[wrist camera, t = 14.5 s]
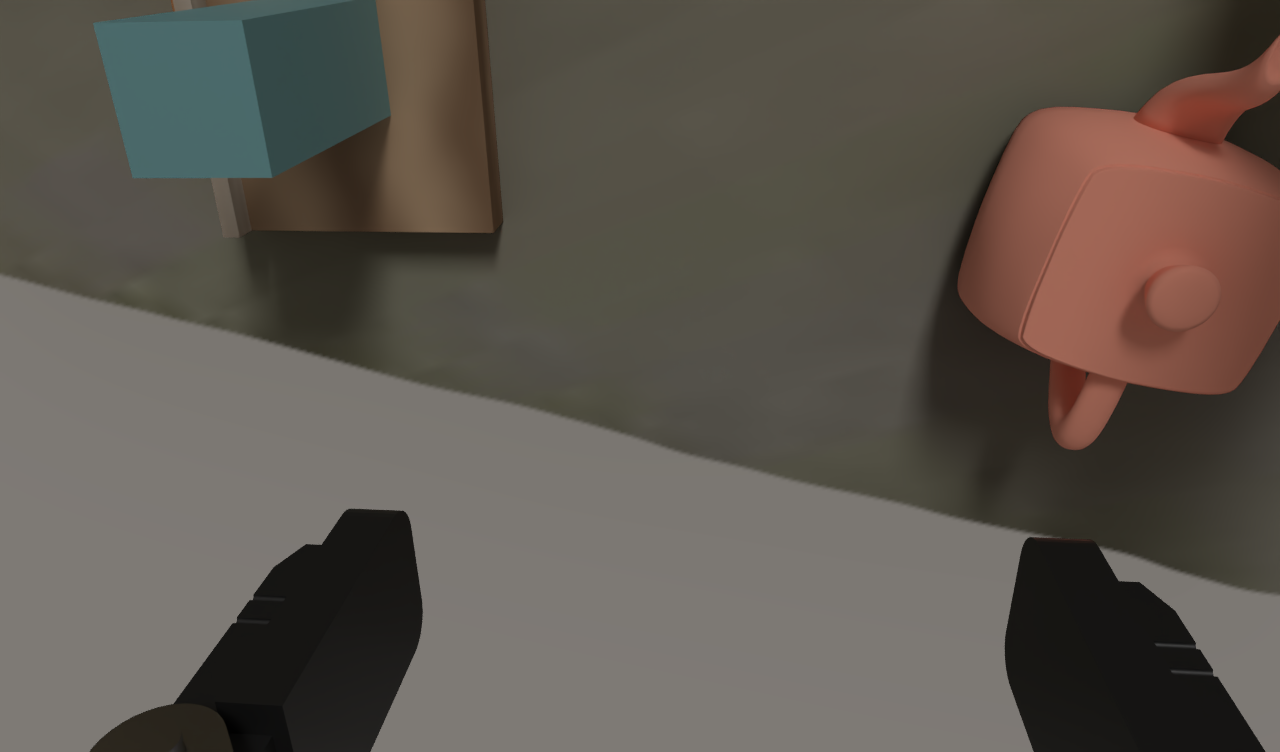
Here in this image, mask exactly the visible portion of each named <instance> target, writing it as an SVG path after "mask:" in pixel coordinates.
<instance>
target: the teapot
mask: <svg viewBox="0 0 1280 752" xmlns="http://www.w3.org/2000/svg"><path fill="white" fill-rule="evenodd" d="M1278 92H1280V35H1279V36H1278V37H1277V38H1276V39H1275V40H1274V42H1273V43H1272V44H1271V45H1270V46H1269V47H1268V48H1267V49H1266V51H1265V52H1264V53H1263V54H1262V55H1261V56H1260V57H1259V58H1257V59H1256V60H1255V61H1253V62H1252V63H1251V64H1249V65H1247V66H1245V67H1243V68H1241V69H1238V70H1234V71H1230V72H1222V73H1211V74H1202V75H1196V76H1191V77H1187V78H1184V79H1181V80H1178V81H1175V82H1173V83H1172V84H1170V85H1168V86H1166V87H1165V88H1163V89H1161V90H1160V91H1158V92H1157V93H1156V94H1155V95H1154V96H1153V97H1152V98H1151V99H1150V100H1149V101H1147V102H1146V104H1145V105H1144V106H1143V107H1142V108H1141V109H1140V110H1139V112H1138V113H1132V112H1126V111H1118V110H1108V109H1097V108H1083V107H1051V108H1044V109H1039V110H1037V111H1034V112H1032V113H1030V114H1029V115H1027V116H1026V117H1024V118H1023V119H1022V120H1021V122H1020V123H1019V125H1018V126H1017V127H1016V129H1015V130H1014V132H1013V134H1012V136H1011V138H1010V140H1009V142H1008V144H1007V146H1006V148H1005V150H1004V152H1003V155H1002V157H1001V159H1000V162H999V164H998V166H997V168H996V171H995V173H994V175H993V177H992V180H991V182H990V184H989V187H988V189H987V192H986V194H985V196H984V199H983V201H982V204H981V207H980V209H979V212H978V215H977V218H976V220H975V223H974V226H973V229H972V232H971V235H970V238H969V241H968V244H967V247H966V250H965V253H964V257H963V260H962V264H961V267H960V271H959V275H958V284H957V288H958V293H959V296H960V298H961V299H962V301H963V302H964V304H965V305H966V307H967V308H968V309H969V310H970V311H971V313H972V314H973V315H974V316H975V317H976V318H977V319H978V320H980V321H981V322H982V323H983V324H985V325H986V326H987V327H989V328H990V329H992V330H993V331H995V332H996V333H998V334H999V335H1001V336H1003V337H1004V338H1006V339H1008V340H1009V341H1011V342H1013V343H1015V344H1017V345H1019V346H1021V347H1023V348H1025V349H1027V350H1029V351H1031V352H1033V353H1036V354H1038V355H1040V356H1042V357H1045V358H1047V359H1050V360H1051V361H1050V377H1049V398H1048V411H1049V422H1050V427H1051V432H1052V435H1053V437H1054V439H1055V441H1056V442H1057V443H1058V444H1059V445H1060V446H1062V447H1063V448H1066V449H1070V450H1080V449H1083V448H1085V447H1087V446H1088V445H1090V444H1091V443H1092V442H1093V441H1094V440H1095V439H1096V438H1097V437H1098V436H1099V434H1100V433H1101V431H1102V430H1103V428H1104V427H1105V425H1106V423H1107V422H1108V420H1109V418H1110V416H1111V415H1112V413H1113V411H1114V409H1115V407H1116V405H1117V403H1118V401H1119V399H1120V397H1121V395H1122V393H1123V391H1124V389H1125V387H1126V385H1127V383H1131V384H1136V385H1141V386H1147V387H1152V388H1158V389H1164V390H1170V391H1177V392H1184V393H1192V394H1206V395H1213V394H1224V393H1228V392H1231V391H1233V390H1235V389H1236V387H1237V386H1238V385H1239V384H1240V383H1241V382H1242V381H1243V379H1244V378H1245V376H1246V375H1247V373H1248V372H1249V371H1250V369H1251V368H1252V366H1253V364H1254V363H1255V361H1256V360H1257V358H1258V356H1259V355H1260V353H1261V352H1262V350H1263V348H1264V347H1265V345H1266V343H1267V341H1268V340H1269V338H1270V336H1271V334H1272V333H1273V331H1274V329H1275V328H1276V326H1277V324H1278V322H1279V321H1280V170H1278V169H1277V168H1276V167H1274V166H1273V165H1272V164H1270V163H1269V162H1267V161H1265V160H1264V159H1262V158H1260V157H1258V156H1256V155H1254V154H1252V153H1250V152H1248V151H1246V150H1244V149H1242V148H1240V147H1238V146H1236V145H1234V144H1232V143H1230V142H1228V141H1225V140H1224V139H1225V137H1226V135H1227V133H1228V131H1229V130H1230V128H1231V127H1232V126H1233V124H1234V123H1235V121H1236V120H1237V119H1238V118H1239V117H1240V115H1241V114H1242V113H1243V112H1245V111H1246V110H1248V109H1251V108H1255V107H1257V106H1259V105H1262V104H1263V103H1265V102H1267V101H1268V100H1270V99H1271V98H1273V97H1274V96H1275V95H1276V94H1277V93H1278ZM1086 372H1089V374H1088V376H1087V379H1086Z"/></svg>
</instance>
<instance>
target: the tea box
mask: <svg viewBox="0 0 1280 752" xmlns="http://www.w3.org/2000/svg"><path fill="white" fill-rule="evenodd" d="M93 24H94V28H95V32H96V36H97V40H98V44H99V48H100V52H101V56H102V60H103V63H104V67H105V71H106V75H107V79H108V83H109V87H110V91H111V95H112V99H113V102H114V106H115V110H116V114H117V118H118V122H119V126H120V130H121V134H122V138H123V141H124V145H125V149H126V153H127V157H128V161H129V165H130V169H131V173H132V177H133V178H273V177H275V176H277V175H279V174H280V173H282V172H284V171H286V170H288V169H290V168H292V167H294V166H296V165H298V164H299V163H301V162H303V161H305V160H307V159H309V158H311V157H313V156H315V155H317V154H319V153H320V152H322V151H324V150H326V149H328V148H330V147H332V146H334V145H336V144H338V143H339V142H341V141H343V140H345V139H347V138H349V137H351V136H353V135H355V134H357V133H358V132H360V131H362V130H364V129H366V128H368V127H370V126H372V125H374V124H376V123H377V122H379V121H381V120H383V119H385V118H387V117H389V116H391V111H390V104H389V97H388V89H387V82H386V74H385V67H384V59H383V52H382V44H381V37H380V30H379V22H378V15H377V7H376V0H253V1H246V2H239V3H232V4H224V5H217V6H210V7H203V8H196V9H189V10H182V11H175V12H168V13H161V14H153V15H146V16H139V17H132V18H125V19H118V20H111V21H104V22H97V23H93Z"/></svg>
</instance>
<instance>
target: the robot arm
mask: <svg viewBox="0 0 1280 752" xmlns="http://www.w3.org/2000/svg"><path fill="white" fill-rule="evenodd" d="M422 614H423V609H422V598H421V592H420V585H419V577H418V571H417V564H416V557H415V551H414V544H413V537H412V530H411V524H410V521H409V517H408V515H407V514H406V512H404V511H394V510H369V509H348V510H346V511H345V512H344V513H343V514H342V516H341V517H340V519H339V520H338V522H337V523H336V525H335V526H334V528H333V529H332V530H331V532H330V533H329V535H328V536H327V538H326V539H325V541H324V542H323V544H322V545H310V544H306V545H305V546H303V547H302V548H300V549H299V550H297V551H296V552H295V553H293V554H292V555H290V556H289V557H288V558H286V559H285V560H283V561H282V562H281V563H279V564H278V565H276V566H275V567H274V568H273V569H272V570H271V572H270V573H269V574H268V576H267V577H266V579H265V580H264V581H263V583H262V584H261V585H260V587H259V588H258V590H257V591H256V592H255V594H254V598H253V600H250V601H249V602H248V603H247V604H246V606H245V607H244V609H243V610H242V612H241V613H240V614H239V615H238V617H237V622H236V623H233V624H232V625H231V626H230V628H229V629H228V630H227V632H226V633H225V634H224V636H223V637H222V638H221V640H220V641H219V643H218V644H217V645H216V647H215V648H214V649H213V651H212V652H211V654H210V655H209V656H208V658H207V659H206V661H205V662H204V663H203V665H202V666H201V667H200V668H199V670H198V671H197V673H196V674H195V675H194V677H193V678H192V680H191V681H190V682H189V684H188V685H187V686H186V688H185V689H184V690H183V692H182V693H181V695H180V696H179V697H178V698H177V700H176V701H175V703H174V704H171V705H166V706H162V707H157V708H154V709H151V710H148V711H146V712H143V713H141V714H138V715H136V716H134V717H132V718H130V719H128V720H126V721H124V722H123V723H121V724H120V725H118V726H117V727H115V728H114V729H112V730H111V731H110V732H108V733H107V734H106V735H105V736H104V737H102V738H101V739H100V740H99V741H98V742H97V743H96V744H95V745H94V746H93V748H92V749H91V750H90V752H370V751H371V749H372V747H373V745H374V743H375V740H376V738H377V736H378V734H379V731H380V729H381V727H382V725H383V723H384V720H385V718H386V716H387V713H388V711H389V709H390V707H391V705H392V703H393V700H394V698H395V696H396V694H397V691H398V689H399V687H400V685H401V683H402V680H403V678H404V676H405V674H406V671H407V669H408V667H409V665H410V662H411V660H412V658H413V656H414V654H415V651H416V649H417V646H418V642H419V638H420V634H421V627H422ZM1195 645H1196V643H1195V641H1194V640H1193V638H1192V636H1191V635H1190V633H1189V632H1188V630H1187V629H1186V627H1185V626H1184V624H1183V623H1182V621H1181V619H1180V618H1179V616H1178V615H1177V613H1176V611H1175V610H1173V609H1172V608H1171V607H1170V606H1168V605H1167V604H1166V603H1164V602H1163V601H1162V600H1161V599H1160V598H1158V597H1157V596H1156V595H1155V594H1154V593H1152V592H1151V591H1150V590H1149V589H1147V588H1146V587H1145V586H1144V585H1142V584H1141V583H1140V582H1122V581H1121V582H1120V581H1118V579H1117V578H1116V576H1115V574H1114V573H1113V571H1112V569H1111V567H1110V566H1109V564H1108V562H1107V561H1106V559H1105V557H1104V555H1103V554H1102V552H1101V550H1100V549H1099V547H1098V546H1097V544H1096V543H1095V542H1094V541H1092V540H1086V539H1061V538H1036V537H1029V538H1028V539H1027V540H1026V541H1025V543H1024V545H1023V547H1022V551H1021V556H1020V561H1019V566H1018V572H1017V577H1016V582H1015V587H1014V593H1013V598H1012V603H1011V609H1010V614H1009V619H1008V624H1007V630H1006V636H1005V662H1006V670H1007V676H1008V680H1009V684H1010V686H1011V690H1012V692H1013V695H1014V698H1015V701H1016V703H1017V706H1018V709H1019V712H1020V715H1021V717H1022V720H1023V723H1024V726H1025V729H1026V731H1027V734H1028V737H1029V740H1030V743H1031V745H1032V748H1033V751H1034V752H1265V750H1264V749H1263V747H1262V746H1261V744H1260V742H1259V741H1258V739H1257V738H1256V736H1255V735H1254V733H1253V731H1252V730H1251V729H1250V727H1249V725H1248V724H1247V722H1246V721H1245V719H1244V717H1243V716H1242V714H1241V713H1240V711H1239V710H1238V708H1237V707H1236V705H1235V703H1234V702H1233V700H1232V699H1231V697H1230V696H1229V694H1228V693H1227V691H1226V689H1225V688H1224V686H1223V685H1222V683H1221V682H1220V680H1219V679H1218V677H1214V676H1213V669H1212V668H1211V666H1210V664H1209V663H1208V662H1207V660H1206V658H1205V657H1204V655H1203V654H1202V652H1201V650H1198V649H1196V646H1195Z"/></svg>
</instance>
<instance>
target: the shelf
mask: <svg viewBox="0 0 1280 752" xmlns="http://www.w3.org/2000/svg"><path fill="white" fill-rule="evenodd" d="M246 1H253V0H171V3H172V8H173V12H175V11H182V10H189V9H196V8H203V7H210V6H217V5H224V4H232V3H239V2H246ZM376 7H377V15H378V22H379V30H380V37H381V44H382V52H383V59H384V67H385V74H386V82H387V89H388V97H389V104H390V111H391V116H389V117H387V118H385V119H383V120H381V121H379V122H377V123H376V124H374V125H372V126H370V127H368V128H366V129H364V130H362V131H360V132H358V133H357V134H355V135H353V136H351V137H349V138H347V139H345V140H343V141H341V142H339V143H338V144H336V145H334V146H332V147H330V148H328V149H326V150H324V151H322V152H320V153H319V154H317V155H315V156H313V157H311V158H309V159H307V160H305V161H303V162H301V163H299V164H298V165H296V166H294V167H292V168H290V169H288V170H286V171H284V172H282V173H280V174H279V175H277V176H275V177H273V178H211V181H212V185H213V190H214V195H215V199H216V204H217V209H218V213H219V218H220V223H221V227H222V232H223V237H224V238H240V237H242V236H243V235H245V234H247V233H248V232H250V231H251V230H258V231H354V232H449V233H494V232H495V231H496V229H497V228H498V227H499V226H500V225H501V223H502V222H503V213H502V201H501V189H500V177H499V164H498V152H497V140H496V128H495V116H494V104H493V92H492V80H491V67H490V55H489V43H488V31H487V19H486V7H485V0H376Z"/></svg>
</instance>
